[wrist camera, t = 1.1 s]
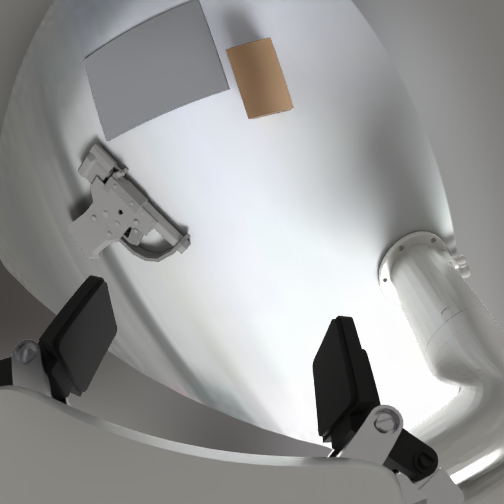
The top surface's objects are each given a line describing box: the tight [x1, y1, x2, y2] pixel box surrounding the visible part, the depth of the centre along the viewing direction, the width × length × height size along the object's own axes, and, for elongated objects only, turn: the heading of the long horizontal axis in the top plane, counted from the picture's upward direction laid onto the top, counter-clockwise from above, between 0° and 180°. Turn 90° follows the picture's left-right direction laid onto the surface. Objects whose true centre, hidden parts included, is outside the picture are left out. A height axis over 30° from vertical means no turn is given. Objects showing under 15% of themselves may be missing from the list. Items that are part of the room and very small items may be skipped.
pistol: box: [67, 143, 191, 262], centre depth 37 cm, size 20×3×16 cm
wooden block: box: [226, 38, 293, 119], centre depth 24 cm, size 4×7×9 cm, turn 16°
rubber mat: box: [84, 0, 229, 141], centre depth 27 cm, size 18×14×1 cm
